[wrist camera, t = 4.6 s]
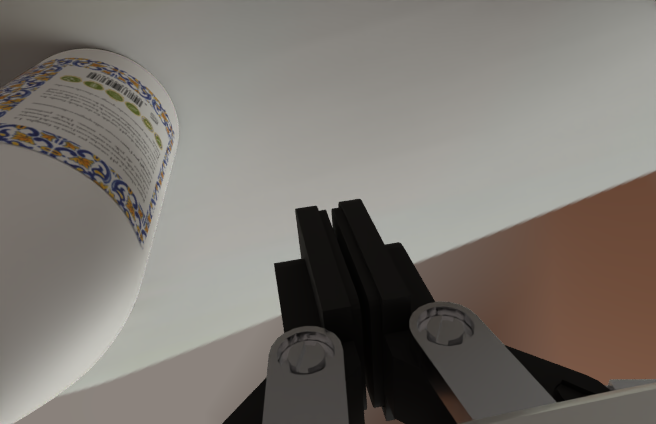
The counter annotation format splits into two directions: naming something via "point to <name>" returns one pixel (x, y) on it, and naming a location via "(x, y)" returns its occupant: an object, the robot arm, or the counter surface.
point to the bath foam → (75, 214)
